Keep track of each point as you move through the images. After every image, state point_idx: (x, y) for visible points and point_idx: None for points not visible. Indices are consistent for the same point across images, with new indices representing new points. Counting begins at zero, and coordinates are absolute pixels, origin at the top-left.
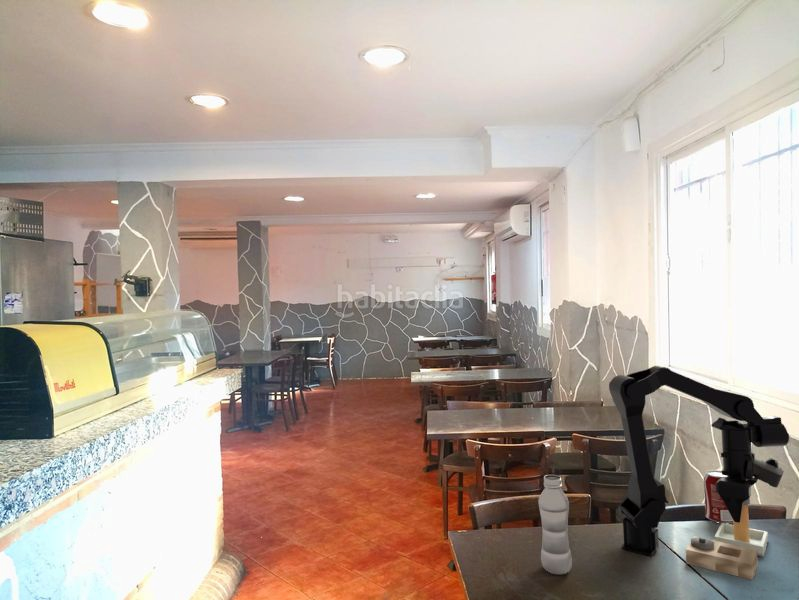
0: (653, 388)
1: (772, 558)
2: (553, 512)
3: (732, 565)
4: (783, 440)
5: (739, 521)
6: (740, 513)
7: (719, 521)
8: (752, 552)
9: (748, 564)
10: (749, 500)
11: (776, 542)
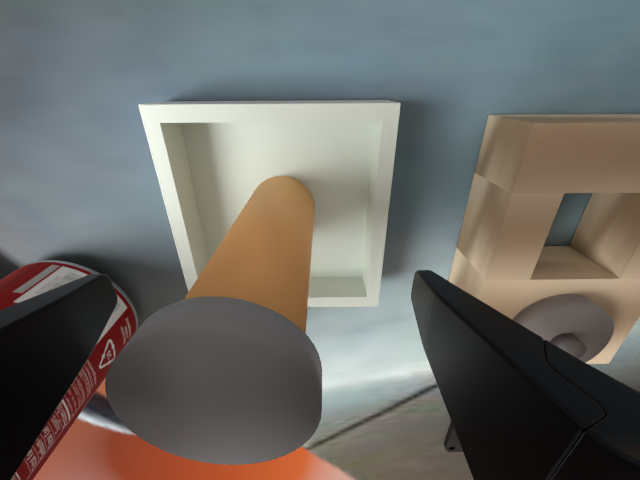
0: None
1: (382, 55)
2: None
3: None
4: None
5: (434, 275)
6: (502, 316)
7: (133, 309)
8: (581, 141)
9: None
10: (211, 330)
11: (143, 57)
